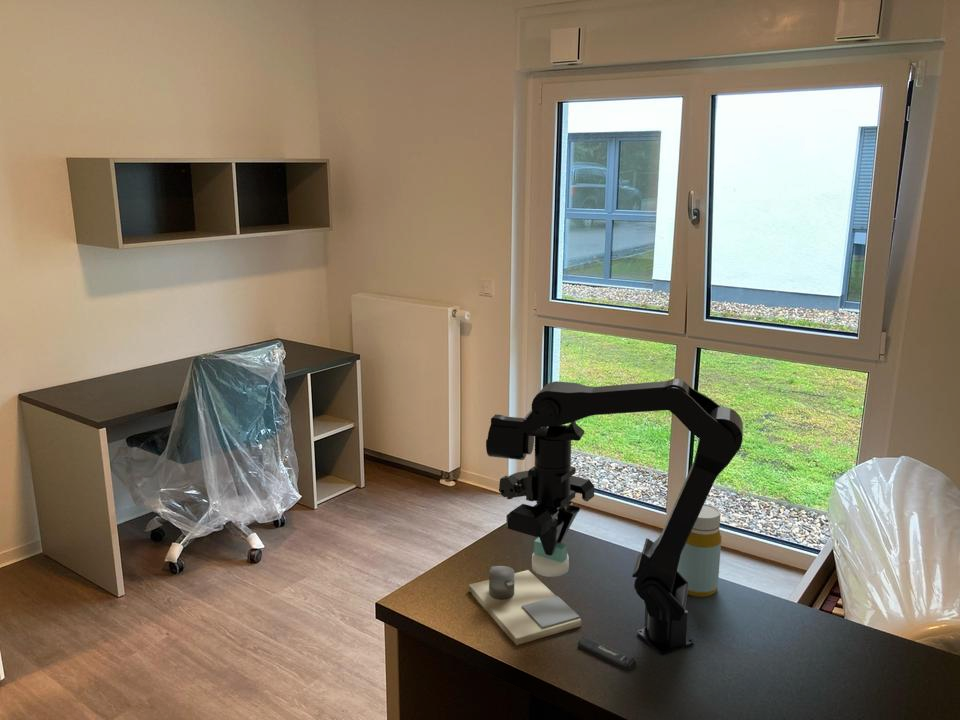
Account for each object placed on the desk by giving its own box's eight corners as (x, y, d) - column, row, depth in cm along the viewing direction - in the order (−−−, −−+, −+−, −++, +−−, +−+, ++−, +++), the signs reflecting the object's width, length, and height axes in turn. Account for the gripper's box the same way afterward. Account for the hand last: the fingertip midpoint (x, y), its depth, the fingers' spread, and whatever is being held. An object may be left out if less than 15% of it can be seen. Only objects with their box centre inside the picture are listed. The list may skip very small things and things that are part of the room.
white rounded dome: (557, 580, 122) (557, 555, 121) (525, 570, 126) (525, 545, 125) (575, 564, 127) (575, 540, 126) (543, 555, 130) (543, 531, 129)
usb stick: (575, 649, 121) (575, 640, 121) (585, 641, 123) (585, 633, 123) (628, 674, 115) (628, 665, 115) (637, 666, 117) (637, 657, 116)
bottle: (713, 579, 141) (718, 502, 137) (720, 599, 134) (726, 520, 130) (674, 577, 141) (678, 501, 138) (680, 597, 135) (684, 518, 131)
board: (580, 626, 126) (581, 597, 125) (516, 645, 122) (516, 615, 120) (528, 575, 142) (528, 550, 141) (468, 590, 137) (468, 564, 136)
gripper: (538, 436, 134) (538, 519, 138) (477, 470, 119) (478, 562, 123) (596, 448, 128) (594, 535, 131) (539, 486, 113) (538, 582, 117)
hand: (551, 552), depth 126 cm, fingers closed on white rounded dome, 2 cm apart
